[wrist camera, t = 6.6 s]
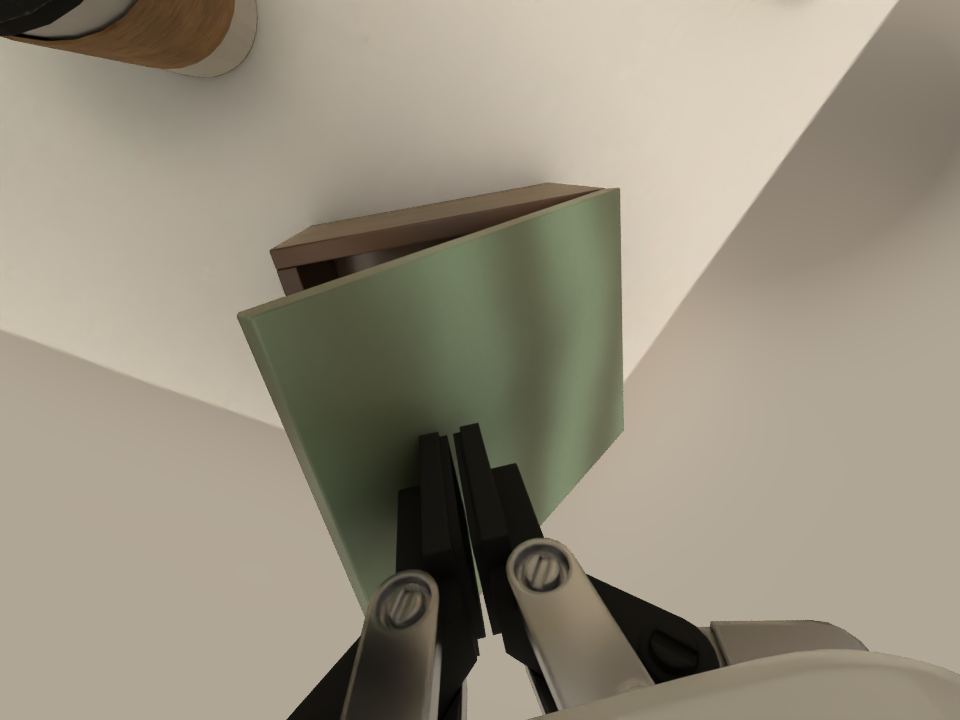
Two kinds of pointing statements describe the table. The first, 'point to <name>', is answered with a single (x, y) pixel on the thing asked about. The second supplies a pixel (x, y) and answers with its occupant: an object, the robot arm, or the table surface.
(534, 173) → the table surface
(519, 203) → the cold frame
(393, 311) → the green rectangular panel
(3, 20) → the coffee cup
